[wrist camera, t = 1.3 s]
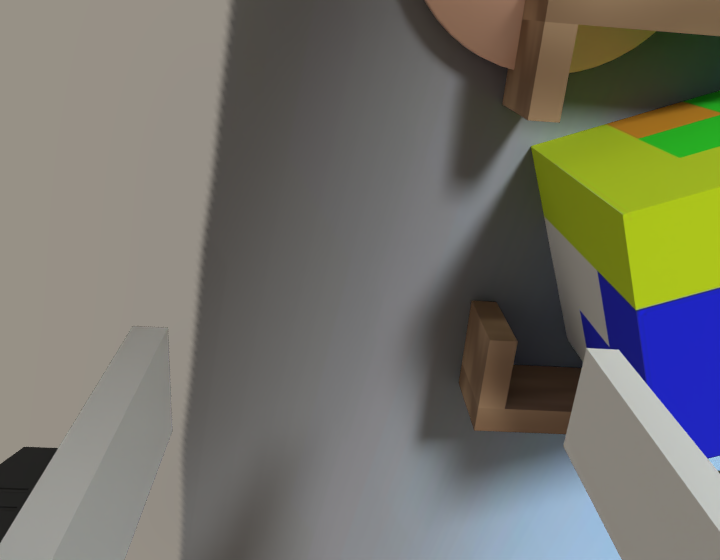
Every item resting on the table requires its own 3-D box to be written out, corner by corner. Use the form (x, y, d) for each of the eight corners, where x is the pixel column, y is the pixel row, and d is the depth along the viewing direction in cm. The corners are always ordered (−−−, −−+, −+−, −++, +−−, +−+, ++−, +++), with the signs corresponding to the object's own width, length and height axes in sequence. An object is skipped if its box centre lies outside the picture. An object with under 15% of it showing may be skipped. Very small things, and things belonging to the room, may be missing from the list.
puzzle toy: (567, 338, 33) (658, 471, 24) (530, 146, 29) (622, 214, 20) (769, 283, 32) (945, 398, 23) (759, 78, 28) (966, 116, 19)
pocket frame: (520, -14, 26) (551, -16, 23) (831, 12, 27) (909, 14, 23) (458, 382, 33) (474, 430, 30) (706, 394, 34) (751, 441, 31)
